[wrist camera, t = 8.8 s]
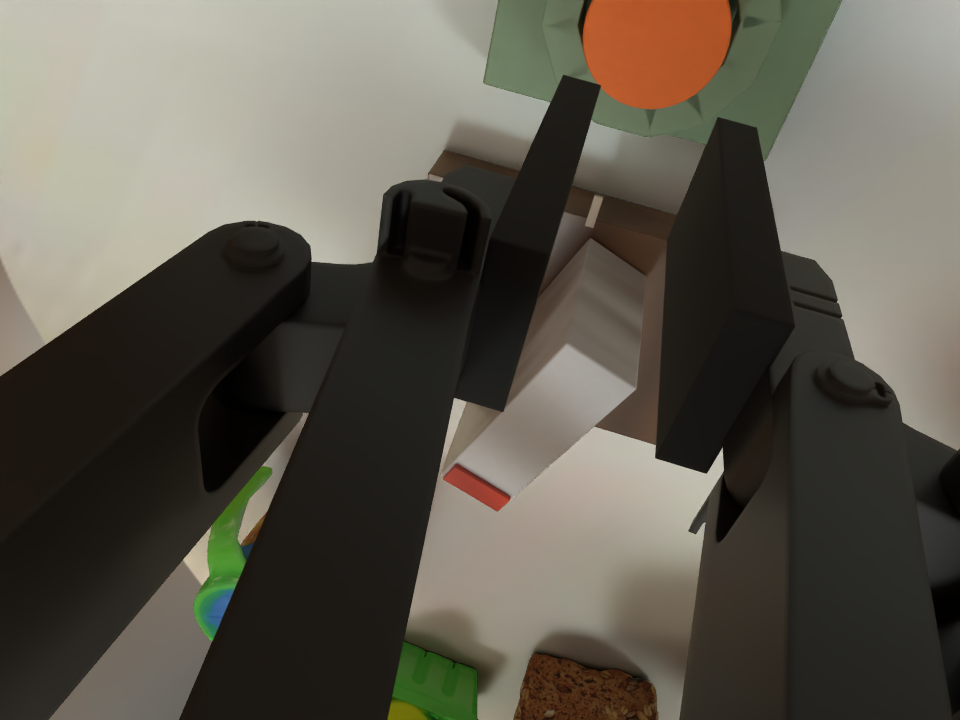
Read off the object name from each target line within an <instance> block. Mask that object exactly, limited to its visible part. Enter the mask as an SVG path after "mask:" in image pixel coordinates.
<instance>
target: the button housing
mask: <svg viewBox="0 0 960 720" xmlns="http://www.w3.org/2000/svg"><path fill="white" fill-rule="evenodd" d="M591 2H592V0H499V1H498V6H497V11H496V17H495V22H494V27H493V33H492V38H491V43H490V49H489V54H488V59H487V65H486V70H485V75H484V80H483V82H484V84H486V85H490V86H494V87H497V88H501V89H505V90H508V91H512V92H516V93H519V94H523V95H526V96H530V97H534V98H537V99H541V100H545V101H548V102H551V101H552V98H553V96H554V94H555V92H556V89H557V87H558V85H559V83H560V81H561V78H562V76H563V75H566V76H570V77H574V78H577V79H581V80H585V81H588V82H592V83H596V84H598V83H597V82H596V81H595V79H594V78H593V76H592V74H591V72H590V70H589V68H588V66H587V63H586V59H585V55H584V50H583V28H584V23H585V18H586V15H587V12H588V9H589V6H590V4H591ZM841 2H842V0H729V6H730V12H731V22H732V28H731V38H730V43H729V47H728V50H727V53H726V56H725V58H724V60H723V63H722V65H721V66H720V68H719V70H718V71H717V73H716V74H715V75H714V77H713V78H712V79H711V80H710V82H709V83H708V84H707V85H706V86H705V87H704V88H703V89H701V90H700V91H699V92H698V93H696V94H695V95H694V96H692V97H690V98H689V99H687V100H685V101H683V102H681V103H679V104H676V105H673V106H670V107H665V108H660V109H641V108H636V107H631V106H629V105H626V104H623V103H621V102H619V101H617V100H615V99H614V98H612V97H611V96H610V95H608V94H607V93H606V92H605V91H604V90H603V89H602V88H600V92H599V95H598V98H597V102H596V105H595V109H594V112H593V115H592V120H593V121H594V122H596V123H597V124H600V125H604V126H608V127H611V128H615V129H618V130H622V131H626V132H629V133H633V134H637V135H640V136H644V137H654V136H659V135H663V134H668V135H672V136H675V137H679V138H683V139H686V140H690V141H694V142H697V143H701V144H704V145H706V144H707V142H708V139H709V137H710V134H711V132H712V130H713V127H714V125H715V122H716V120H717V117H720V118H724V119H728V120H731V121H735V122H739V123H742V124H746V125H749V126H753V127H757V130H758V135H759V140H760V146H761V151H762V156H763V161H765V160H766V159H767V157H768V155H769V153H770V151H771V149H772V147H773V145H774V142H775V140H776V138H777V136H778V134H779V132H780V130H781V128H782V126H783V124H784V121H785V119H786V117H787V115H788V113H789V111H790V109H791V107H792V105H793V103H794V100H795V98H796V96H797V94H798V92H799V90H800V88H801V86H802V84H803V82H804V79H805V77H806V75H807V73H808V71H809V69H810V67H811V65H812V63H813V61H814V59H815V56H816V54H817V52H818V50H819V48H820V46H821V44H822V42H823V40H824V38H825V35H826V33H827V31H828V29H829V27H830V25H831V23H832V21H833V19H834V17H835V14H836V12H837V10H838V8H839V6H840V4H841Z"/></svg>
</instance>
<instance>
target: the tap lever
mask: <svg viewBox="0 0 960 720" xmlns="http://www.w3.org/2000/svg"><path fill="white" fill-rule="evenodd" d="M645 289H646V276H645V275H643V274H642V273H640V272H639V271H638V270H636V269H635V268H633V267H632V266H630V265H629V264H628V263H626V262H625V261H623V260H622V259H620V258H619V257H617V256H616V255H615V254H613V253H612V252H610V251H609V250H607V249H606V248H604V247H603V246H602V245H600V244H599V243H597V242H596V241H594V240H593V239H591V238H590V239H589V240H588V241H587V242H586V243H585V244H584V245H583V247H582V248H581V249H580V250H579V251H578V252H577V254H576V255H575V256H574V257H573V258H572V259H571V261H570V262H569V263H568V264H567V265H566V266H565V267H564V269H563V270H562V271H561V272H560V273H559V274H558V276H557V277H556V278H555V279H554V280H553V281H552V283H551V284H550V285H549V286H548V287H547V288H546V289H545V291H544V292H543V293H542V294H541V295H540V296H539V298H538V300H537V303H536V306H535V310H534V313H533V316H532V319H531V323H530V326H529V329H528V333H527V336H526V339H525V343H524V346H523V349H522V353H521V356H520V359H519V363H518V366H517V369H516V373H515V376H514V379H513V382H512V386H511V389H510V392H509V396H508V399H507V402H506V406H505V409H504V412H500V411H497V410H493V409H490V408H487V407H484V406H480V405H477V404H474V403H470V402H467V403H466V405H465V408H464V411H463V414H462V416H461V419H460V422H459V424H458V427H457V430H456V433H455V435H454V438H453V441H452V444H451V446H450V449H449V452H448V454H447V457H446V460H445V463H444V465H443V468H442V471H441V476H442V477H444V478H443V479H444V480H445V481H447V482H448V483H450V484H452V485H453V486H455V487H457V488H459V489H460V490H462V491H464V492H465V493H467V494H469V495H470V496H472V497H474V498H475V499H477V500H479V501H480V502H482V503H484V504H485V505H487V506H489V507H490V508H492V509H494V510H495V511H499V510H500V509H501V508H502V507H503V506H505V505H506V504H507V503H508V502H509V501H510V500H511V499H512V498H514V497H515V496H516V495H517V494H518V493H519V492H520V491H522V490H523V489H524V488H525V487H526V486H527V485H528V484H529V483H531V482H532V481H533V480H534V479H535V478H536V477H537V476H538V475H540V474H541V473H542V472H543V471H544V470H545V469H546V468H548V467H549V466H550V465H551V464H552V463H553V462H554V461H555V460H557V459H558V458H559V457H560V456H561V455H562V454H563V453H565V452H566V451H567V450H568V449H569V448H570V447H571V446H572V445H574V444H575V443H576V442H577V441H578V440H579V439H580V438H581V437H583V436H584V435H585V434H586V433H587V432H588V431H589V430H591V429H592V428H593V427H594V426H595V425H596V424H597V423H598V422H600V421H601V420H602V419H603V418H604V417H605V416H606V415H608V414H609V413H610V412H611V411H612V410H613V409H614V408H615V407H617V406H618V405H619V404H620V403H621V402H622V401H623V400H625V399H626V398H627V397H628V396H629V395H630V394H631V393H632V392H634V391H635V390H636V387H637V376H638V365H639V354H640V343H641V332H642V322H643V311H644V300H645Z"/></svg>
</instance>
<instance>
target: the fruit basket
mask: <svg viewBox="0 0 960 720" xmlns="http://www.w3.org/2000/svg"><path fill="white" fill-rule="evenodd" d="M388 720H478V719H477V671H476V670H475V669H473V668H470V667H468V666H465V665H462V664H459V663H453V661H451V660H449V659H447V658H444V657H442V656H440V655H437V654H434V653H431V652H425V650H423V649H421V648H419V647H417V646H414V645H412V644H409V643H406V642H403V647H402V652H401V656H400V661H399V666H398V671H397V676H396V681H395V686H394V690H393V695H392V700H391V705H390V710H389V715H388Z"/></svg>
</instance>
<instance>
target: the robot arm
mask: <svg viewBox="0 0 960 720" xmlns="http://www.w3.org/2000/svg"><path fill="white" fill-rule="evenodd" d="M600 88H601V85H599V84H596V83H592V82H588V81H585V80H581V79H577V78H574V77H570V76H566V75H563V76H562V78H561V81H560V83H559V85H558V87H557V89H556V92H555V94H554V96H553V98H552V101H551V103H550V105H549V107H548V110H547V112H546V114H545V116H544V118H543V121H542V123H541V125H540V127H539V130H538V132H537V134H536V136H535V138H534V141H533V143H532V145H531V147H530V150H529V152H528V154H527V156H526V158H525V161H524V163H523V165H522V167H521V170H520V172H519V174H518V176H517V179H516V178H512V177H509V176H505V175H502V174H498V173H494V172H491V171H487V170H484V169H480V168H477V167H473V166H470V165H464V166H462V167H460V168H458V169H456V170H453V171H451V172H449V173H447V174H446V175H445V176H444V178H443V180H442V181H441V182H440V181H432V180H413V181H405V182H402V183H399V184H397V185H394V186H392V187H391V188H390V189H389V190H388V191H387V192H386V193H385V194H384V195H383V202H382V211H381V221H380V230H379V239H378V248H377V254H376V256H375V259H374V261H373V262H372V263H365V264H357V265H351V264H331V263H320V262H311V249H310V245H309V244H308V243H307V242H306V240H305V239H304V238H303V237H302V236H301V235H300V234H298V233H296V232H294V231H292V230H291V229H289V228H287V227H284V226H280V225H276V224H272V223H269V222H262V221H258V222H255V221H243V222H237V223H231V224H225V225H223V226H221V227H218V228H216V229H214V230H212V231H210V232H208V233H206V234H205V235H203V236H202V237H201V238H199V239H198V240H196V241H195V242H193V243H192V244H191V245H189V246H188V247H186V248H185V249H183V250H182V251H180V252H179V253H178V254H176V255H175V256H173V257H172V258H170V259H169V260H167V261H166V262H165V263H163V264H162V265H160V266H159V267H157V268H156V269H154V270H153V271H152V272H150V273H149V274H147V275H146V276H144V277H143V278H141V279H140V280H139V281H137V282H136V283H134V284H133V285H131V286H130V287H129V288H127V289H126V290H124V291H123V292H121V293H120V294H118V295H117V296H116V297H114V298H113V299H111V300H110V301H108V302H107V303H105V304H104V305H103V306H101V307H100V308H98V309H97V310H95V311H94V312H92V313H91V314H90V315H88V316H87V317H85V318H84V319H82V320H81V321H80V322H78V323H77V324H75V325H74V326H72V327H71V328H69V329H68V330H67V331H65V332H64V333H62V334H61V335H59V336H58V337H56V338H55V339H54V340H52V341H51V342H49V343H48V344H46V345H45V346H43V347H42V348H41V349H39V350H38V351H36V352H35V353H34V354H32V355H30V356H29V357H28V358H26V359H25V360H23V361H22V362H20V363H19V364H18V365H16V366H15V367H13V368H12V369H10V370H9V371H8V372H6V373H5V374H3V375H2V376H0V720H49V719H50V717H51V716H52V715H53V714H54V712H55V711H56V710H57V709H58V708H59V706H60V705H61V704H62V703H63V702H64V700H65V699H66V698H67V697H68V696H69V695H70V693H71V692H72V691H73V690H74V689H75V687H76V686H77V685H78V684H79V683H80V682H81V680H82V679H83V678H84V677H85V676H86V674H87V673H88V672H89V671H90V670H91V668H92V667H93V666H94V665H95V664H96V663H97V661H98V660H99V659H100V658H101V657H102V655H103V654H104V653H105V652H106V651H107V649H108V648H109V647H110V646H111V644H112V643H113V642H114V641H115V640H116V639H117V638H118V636H119V635H120V634H121V633H122V631H123V630H124V629H125V628H126V627H127V625H128V624H129V623H130V622H131V621H132V620H133V618H134V617H135V616H136V615H137V614H138V612H139V611H140V610H141V609H142V608H143V606H144V605H145V604H146V603H147V602H148V601H149V599H150V598H151V597H152V596H153V595H154V593H155V592H156V591H157V590H158V589H159V588H160V586H161V585H162V584H163V583H164V582H165V580H166V579H167V578H168V577H169V576H170V574H171V573H172V572H173V571H174V570H175V568H176V567H177V566H178V565H179V564H180V563H181V561H182V560H183V559H184V558H185V557H186V555H187V554H188V553H189V552H190V551H191V549H192V548H193V547H194V546H195V545H196V543H197V542H198V541H199V540H200V539H201V538H202V536H203V535H204V534H205V533H206V532H207V530H208V529H209V528H210V527H211V526H212V524H213V523H214V522H215V521H216V520H217V518H218V517H219V516H220V515H221V514H222V513H223V511H224V510H225V509H226V508H227V507H228V505H229V504H230V503H231V502H232V501H233V499H234V498H235V497H236V496H237V495H238V493H239V492H240V491H241V490H242V489H243V488H244V486H245V485H246V484H247V483H248V482H249V480H250V479H251V478H252V477H253V476H254V474H255V473H256V472H257V471H258V470H259V468H260V467H261V466H262V465H263V464H264V463H265V461H266V460H267V459H268V458H269V457H270V455H271V454H272V453H273V452H274V451H275V449H276V448H277V447H278V446H279V445H280V443H281V442H282V441H283V440H284V439H285V438H286V436H287V435H288V434H289V433H290V432H291V430H292V429H293V428H294V427H295V426H296V424H297V423H298V422H299V421H300V419H301V417H302V415H303V413H309V414H308V417H307V419H306V422H305V424H304V426H303V429H302V431H301V433H300V436H299V438H298V440H297V443H296V445H295V448H294V450H293V452H292V455H291V457H290V459H289V462H288V464H287V466H286V469H285V471H284V473H283V476H282V478H281V481H280V483H279V485H278V488H277V490H276V492H275V495H274V497H273V499H272V502H271V504H270V506H269V509H268V511H267V514H266V516H265V518H264V521H263V523H262V525H261V528H260V530H259V532H258V535H257V537H256V540H255V542H254V544H253V547H252V549H251V551H250V554H249V556H248V558H247V561H246V563H245V565H244V568H243V570H242V573H241V575H240V577H239V580H238V582H237V584H236V587H235V589H234V591H233V594H232V596H231V598H230V601H229V603H228V606H227V608H226V610H225V613H224V615H223V617H222V620H221V622H220V624H219V627H218V629H217V632H216V634H215V636H214V639H213V641H212V643H211V646H210V648H209V650H208V653H207V655H206V657H205V660H204V662H203V665H202V667H201V670H200V672H199V674H198V676H197V679H196V681H195V683H194V686H193V688H192V691H191V693H190V695H189V698H188V700H187V702H186V705H185V707H184V709H183V712H182V714H181V716H180V719H179V720H388V715H389V710H390V705H391V700H392V695H393V690H394V686H395V681H396V676H397V671H398V666H399V661H400V656H401V652H402V647H403V642H404V637H405V632H406V627H407V623H408V618H409V613H410V608H411V603H412V598H413V593H414V589H415V584H416V579H417V574H418V569H419V564H420V560H421V555H422V550H423V545H424V540H425V535H426V530H427V526H428V521H429V516H430V511H431V506H432V501H433V497H434V492H435V487H436V482H437V477H438V472H439V467H440V463H441V458H442V453H443V448H444V443H445V438H446V433H447V429H448V424H449V419H450V414H451V409H452V404H453V400H454V398H457V399H460V400H464V401H467V402H470V403H474V404H477V405H480V406H484V407H487V408H490V409H493V410H497V411H500V412H504V409H505V406H506V402H507V399H508V396H509V392H510V389H511V386H512V382H513V379H514V376H515V373H516V369H517V366H518V363H519V359H520V356H521V353H522V349H523V346H524V343H525V339H526V336H527V333H528V329H529V326H530V323H531V319H532V316H533V313H534V310H535V306H536V303H537V300H538V296H539V293H540V290H541V286H542V283H543V280H544V276H545V273H546V270H547V266H548V263H549V260H550V256H551V253H552V250H553V247H554V243H555V240H556V237H557V233H558V230H559V227H560V223H561V220H562V217H563V213H564V210H565V207H566V203H567V200H568V197H569V193H570V190H571V186H572V183H573V180H574V176H575V173H576V169H577V166H578V163H579V159H580V156H581V153H582V149H583V146H584V142H585V139H586V136H587V132H588V129H589V125H590V122H591V119H592V115H593V112H594V109H595V105H596V102H597V98H598V95H599V92H600ZM837 300H838V299H837V296H836V292H835V289H834V285H833V282H832V280H831V279H830V278H829V276H828V275H827V274H826V273H825V272H824V271H823V269H822V268H821V267H820V266H819V265H818V264H817V262H816V261H815V260H812V259H808V258H805V257H801V256H797V255H794V254H790V253H787V252H783V251H781V249H780V244H779V239H778V234H777V228H776V223H775V218H774V213H773V208H772V203H771V197H770V192H769V187H768V182H767V177H766V171H765V166H764V161H763V156H762V151H761V146H760V140H759V135H758V130H757V127H753V126H749V125H746V124H742V123H739V122H735V121H731V120H728V119H724V118H720V117H717V120H716V122H715V125H714V127H713V130H712V132H711V134H710V137H709V139H708V142H707V144H706V147H705V149H704V151H703V154H702V156H701V159H700V161H699V164H698V166H697V168H696V171H695V173H694V176H693V178H692V181H691V183H690V185H689V188H688V190H687V193H686V195H685V197H684V200H683V202H682V205H681V207H680V210H679V212H678V214H677V217H676V219H675V222H674V224H673V227H672V229H671V231H670V234H669V236H668V239H667V251H666V269H665V287H664V306H663V324H662V343H661V361H660V380H659V398H658V416H657V435H656V453H655V458H656V459H660V460H663V461H666V462H670V463H673V464H676V465H679V466H683V467H686V468H689V469H693V470H696V471H699V472H703V473H706V474H707V472H708V471H709V469H710V467H711V466H712V464H713V462H714V461H715V459H716V457H717V456H718V454H719V452H720V451H721V449H722V447H723V460H724V472H723V474H722V475H721V477H720V478H719V480H718V482H717V483H716V485H715V486H714V488H713V490H712V491H711V493H710V494H709V496H708V498H707V499H706V501H705V502H704V504H703V506H702V507H701V509H700V510H699V512H698V514H697V515H696V517H695V518H694V520H693V522H692V524H691V526H690V529H689V532H691V533H694V534H696V533H697V532H698V530H699V529H700V527H701V525H702V524H703V523H705V522H706V524H705V532H704V539H703V547H702V554H701V562H700V569H699V577H698V584H697V592H696V599H695V607H694V614H693V622H692V629H691V637H690V644H689V652H688V659H687V667H686V674H685V682H684V689H683V697H682V704H681V712H680V719H679V720H960V449H959V450H958V451H957V450H955V449H953V448H951V447H949V446H947V445H945V444H943V443H941V442H939V441H937V440H935V439H933V438H931V437H929V436H927V435H925V434H923V433H921V432H919V431H917V430H915V429H913V428H911V427H909V426H908V425H906V424H904V423H903V422H902V416H901V410H900V404H899V402H898V400H897V398H896V395H895V393H894V391H893V390H892V388H891V387H890V386H889V385H888V384H887V383H886V382H885V381H884V380H883V379H882V378H881V376H879V375H878V374H876V373H875V372H874V371H872V370H871V369H869V368H868V367H866V366H865V365H864V364H862V363H860V362H858V361H856V360H855V359H854V355H853V352H852V348H851V345H850V341H849V338H848V334H847V331H846V327H845V324H844V320H843V319H841V317H842V313H841V310H840V306H839V304H838V303H837Z"/></svg>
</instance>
